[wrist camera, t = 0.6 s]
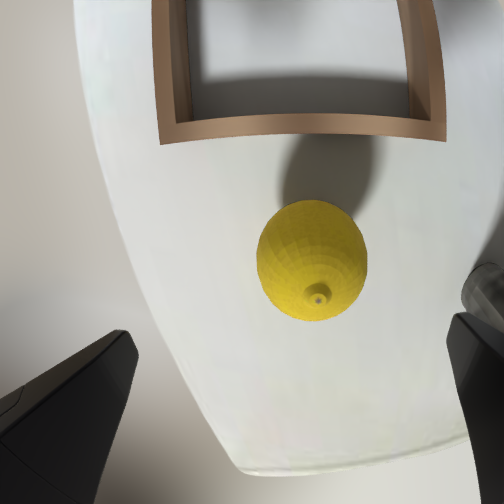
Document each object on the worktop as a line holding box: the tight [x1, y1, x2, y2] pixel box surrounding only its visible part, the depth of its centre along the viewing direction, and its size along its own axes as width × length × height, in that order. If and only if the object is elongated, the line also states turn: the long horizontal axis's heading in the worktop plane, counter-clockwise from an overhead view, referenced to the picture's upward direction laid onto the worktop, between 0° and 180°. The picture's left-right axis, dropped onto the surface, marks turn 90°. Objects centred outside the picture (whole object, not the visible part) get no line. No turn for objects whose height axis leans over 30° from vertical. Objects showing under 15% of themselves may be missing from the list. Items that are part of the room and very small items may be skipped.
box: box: [152, 0, 446, 145], centre depth 12 cm, size 15×13×3 cm
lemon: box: [256, 200, 367, 321], centre depth 15 cm, size 6×6×8 cm
